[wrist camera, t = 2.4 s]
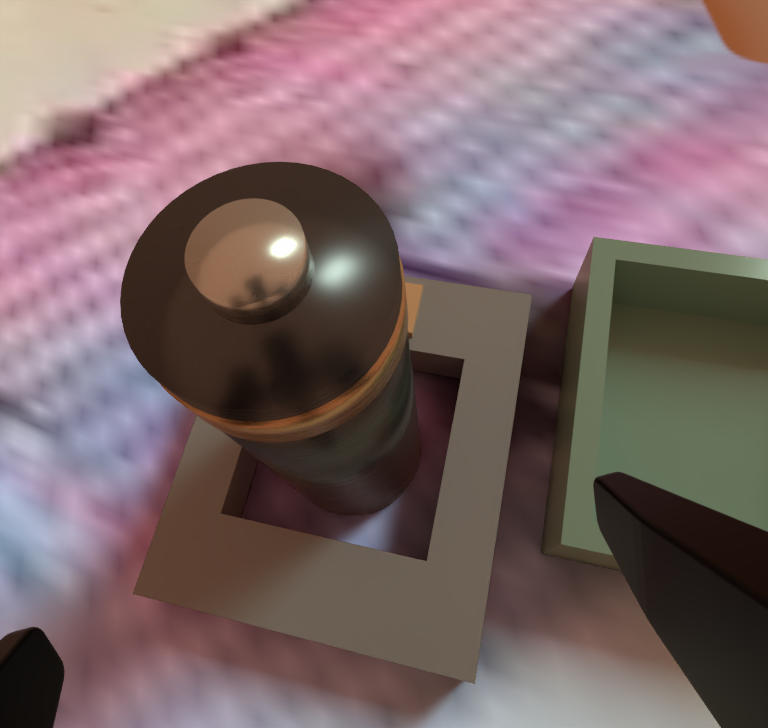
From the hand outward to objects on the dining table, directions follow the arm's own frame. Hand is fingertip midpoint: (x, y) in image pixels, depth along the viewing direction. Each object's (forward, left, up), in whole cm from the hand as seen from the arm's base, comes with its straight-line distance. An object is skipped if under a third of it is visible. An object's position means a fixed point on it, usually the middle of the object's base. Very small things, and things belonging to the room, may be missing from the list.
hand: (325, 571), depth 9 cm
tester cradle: (+5, +2, -11) cm, 12 cm away
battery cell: (+5, +2, -11) cm, 13 cm away
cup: (+8, -10, -11) cm, 17 cm away
